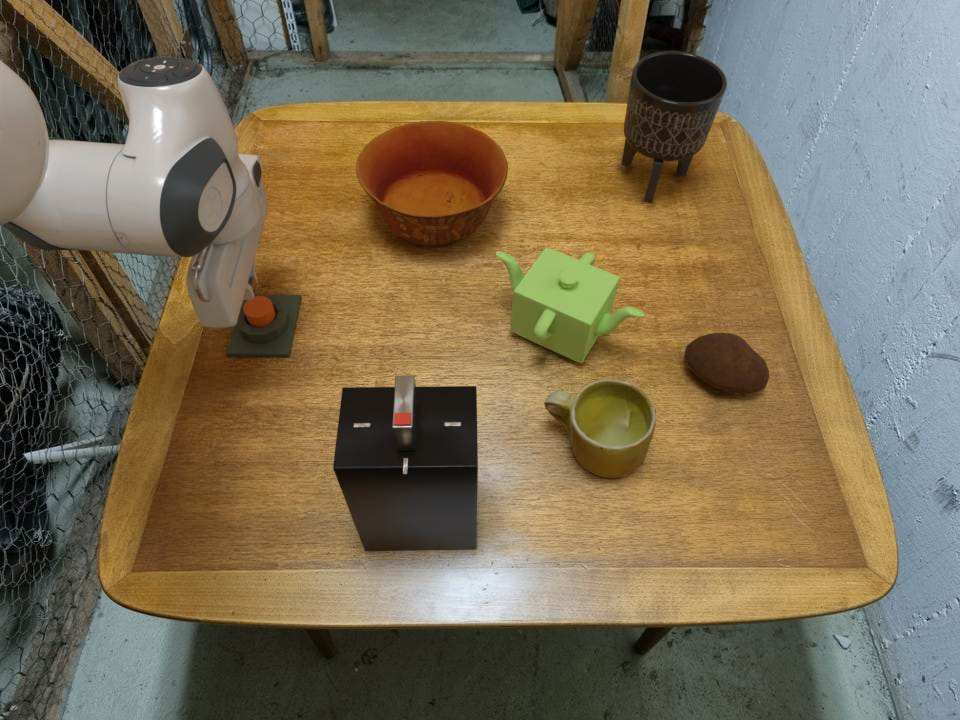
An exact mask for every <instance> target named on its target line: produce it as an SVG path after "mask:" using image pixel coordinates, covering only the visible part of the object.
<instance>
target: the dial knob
mask: <svg viewBox="0 0 960 720" xmlns="http://www.w3.org/2000/svg"><path fill="white" fill-rule="evenodd" d="M394 387H395V391H394V407H393V424H392V428H393V433H394V438H395V443H396V448H397V451H412V450H416V431H417V405H418V399H417V392H416V387H417V384H416V378H415V375H413V374H412V375H411V374H409V375H395V377H394Z"/></svg>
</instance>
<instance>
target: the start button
mask: <svg viewBox="0 0 960 720" xmlns="http://www.w3.org/2000/svg"><path fill="white" fill-rule="evenodd" d="M243 310H244V313H245V315H246V318H247V320H248V322H249V323H250V324H251V325H252V326H254V327H264V326H267V325H269V324H270V323H272V322H273V320H274V319H275V316H276V313H275V310H274V307H273V305H272V302H271V300H270V299H269V298H267V297H264V296H256V297H254V299H253V300H248V301H247V302H246V303H245V304H244V308H243Z"/></svg>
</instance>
